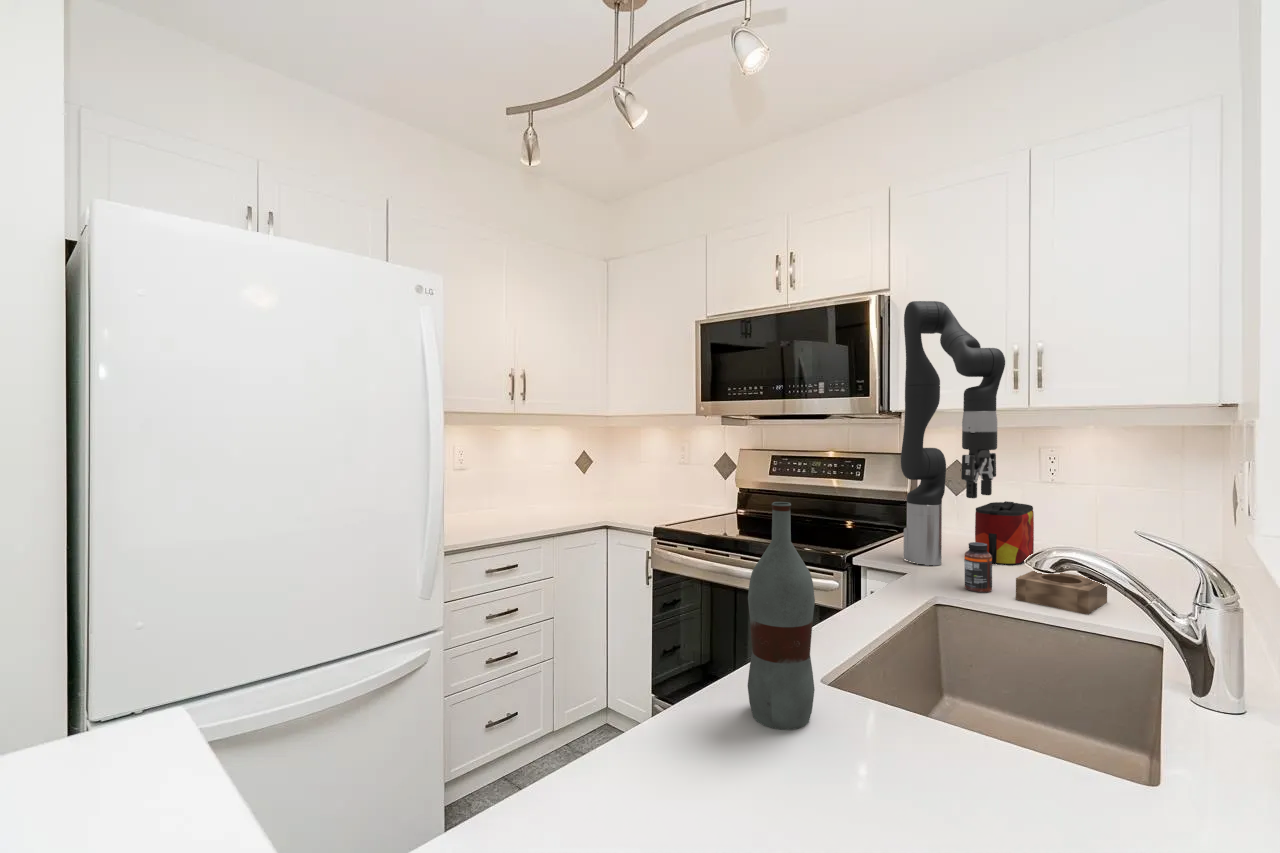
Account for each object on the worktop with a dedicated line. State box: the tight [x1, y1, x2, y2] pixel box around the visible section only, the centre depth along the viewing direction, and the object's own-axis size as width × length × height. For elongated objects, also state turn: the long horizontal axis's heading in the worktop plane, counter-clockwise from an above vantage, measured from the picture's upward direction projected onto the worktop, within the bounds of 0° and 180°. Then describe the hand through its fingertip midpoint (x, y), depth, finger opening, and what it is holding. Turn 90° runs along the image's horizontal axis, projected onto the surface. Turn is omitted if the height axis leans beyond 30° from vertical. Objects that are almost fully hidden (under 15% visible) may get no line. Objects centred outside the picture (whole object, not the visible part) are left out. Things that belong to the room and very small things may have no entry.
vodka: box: [747, 501, 816, 731], centre depth 87 cm, size 9×9×30 cm
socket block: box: [1015, 570, 1108, 615], centre depth 142 cm, size 14×14×5 cm
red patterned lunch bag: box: [974, 500, 1035, 567], centre depth 186 cm, size 30×14×16 cm, turn 136°
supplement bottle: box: [963, 541, 993, 593], centre depth 151 cm, size 6×6×11 cm
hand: (979, 496), depth 151 cm, fingers open, 8 cm apart
